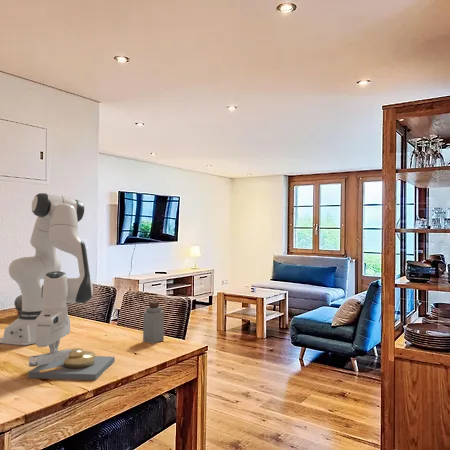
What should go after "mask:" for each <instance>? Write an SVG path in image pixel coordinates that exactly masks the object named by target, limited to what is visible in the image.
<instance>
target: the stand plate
mask: <svg viewBox="0 0 450 450" xmlns="http://www.w3.org/2000/svg"><path fill="white" fill-rule="evenodd" d="M113 363H115V356H107V355H106V356H103V355H102V356H101V355H95V363H94V364H93V365H91V366H88V367H83V368H67V367H65V366H64V365H63V360H60V361H56V362H51V363H47V364H42V365H38V366H34V368H32V369H30V370H29V371H28V372H27V373H28V374H27V378H28V379H46V380H47V379H50V380H52V379H53V380H76V381H77V380H78V381H79V380H80V381H96V380H98V378H100V376H101V375H103V374H104V373H103V372H104V371H105V370H106V369H107V370H108V369H109V368H110V367H111V365H113ZM107 370H106V371H107ZM106 371H105V372H106Z"/></svg>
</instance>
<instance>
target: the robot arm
mask: <svg viewBox="0 0 450 450" xmlns="http://www.w3.org/2000/svg"><path fill="white" fill-rule="evenodd" d="M31 212H32V214H33V215H35V216H37V218H36V220H35V222H34V226H33V229H32V233H31V237H30V241H29V242H30V245H31V246H32V247H33V248H34V249H35V254H34V256H23V257H20V258H16V259H14V260H12V261H11V262H10V264H9V266H8V274H9V276H10V278H11V279H12V280H13V281H15V282H16V284H17V285H18V287H19V289H20V292H21V293H20V294H21V295H22V310H21V311H19V312H18V311H17V312H16V313H15V316H17V319H15V320H14V321H12V322H11V323H10V324H8V325H7V326H6V327H5V328H4V331H3V336H2V337H0V344H7V345H17V346H28V345H32V344H35V345H36V347H37V348H40V347H41V348H46V347H48V348H49V353H51V352H56V351H59V345H60V342H61V339H63V338H64V337H66V336H67V335H69V334H70V333H71V319H70V316H69V314H68V304H69V303H70V304H71V303H76V304H86V303H87V302H89V301H90V300H91V299H92V298H93V295H94V285H93V282H92V280H91V275H90V265H89V260H88V253H87V252H88V251H87V247H86V243H85V241H84V240H83V239H81V238H80V237H79V233H78V230H79V229H78V226H79V225H78V223H79V222H80V221H82V219H83V217H84V214H85V206H84V203H83V202H82V201H80V200H78V199H72V198H70V197H66V196H63V195H55V194H48V193H43V192H42V193H37V194H36V195H35V196H34V198H33V200H32V201H31ZM56 249H58V250H59V251H61V252H65V253H68V254H70V255H72V256H74V257H75V258H76V259H77V264H78V272H79V273H78V274H79V276H78V277H77V278H76V277H73V278H71V277H69V278H68V275H67V273H66V272H63V271H61V269H62V264H61V261H60V260H59V258H58V257H57V254H56ZM41 280H43V284H42V285H41Z"/></svg>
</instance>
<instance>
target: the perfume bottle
mask: <svg viewBox="0 0 450 450" xmlns="http://www.w3.org/2000/svg"><path fill="white" fill-rule="evenodd" d="M148 305H149V306H146V307H145V310H146V311H144V312H143V315H142V316H143V323H142V325H143V327H142V328H143V329H142V330H143V331H142V336H143V337H142V342H144V343H146V342H147V343H150V344H157V343H159V342H160V343H161V342H163V341H164V339H165V338H164V336H165V329H164V328H165V311H162V309H163V307H162V306H160V302H159V301H150V302H149V303H148Z"/></svg>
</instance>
